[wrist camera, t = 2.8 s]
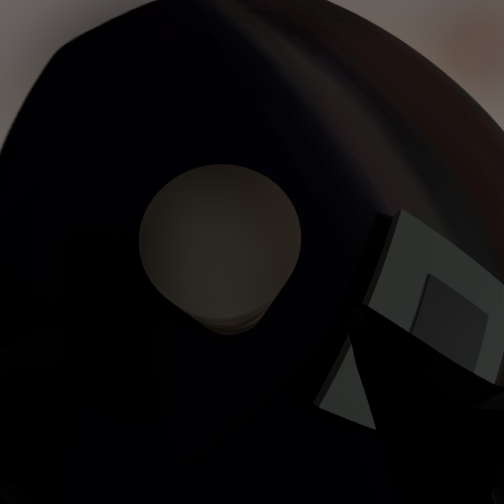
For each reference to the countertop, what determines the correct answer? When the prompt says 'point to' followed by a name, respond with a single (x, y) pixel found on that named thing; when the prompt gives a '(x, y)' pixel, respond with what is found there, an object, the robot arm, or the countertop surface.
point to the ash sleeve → (220, 245)
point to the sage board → (424, 311)
